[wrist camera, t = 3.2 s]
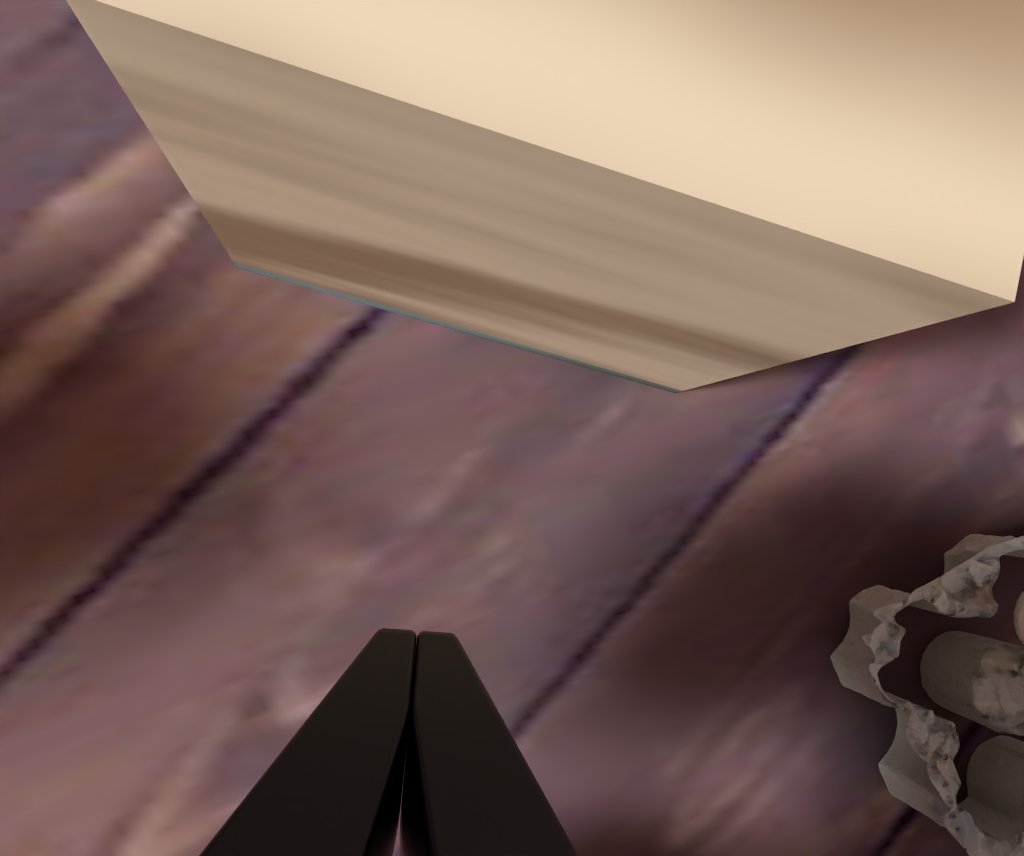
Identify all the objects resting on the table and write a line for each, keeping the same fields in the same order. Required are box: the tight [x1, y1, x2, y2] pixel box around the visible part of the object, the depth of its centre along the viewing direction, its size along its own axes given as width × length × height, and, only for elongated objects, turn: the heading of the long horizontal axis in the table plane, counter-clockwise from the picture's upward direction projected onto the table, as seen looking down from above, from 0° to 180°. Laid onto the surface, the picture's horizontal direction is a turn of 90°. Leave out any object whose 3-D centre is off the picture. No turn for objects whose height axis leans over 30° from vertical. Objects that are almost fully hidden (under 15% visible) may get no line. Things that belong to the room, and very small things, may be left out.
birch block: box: [66, 0, 1024, 393], centre depth 16 cm, size 5×12×12 cm, turn 76°
